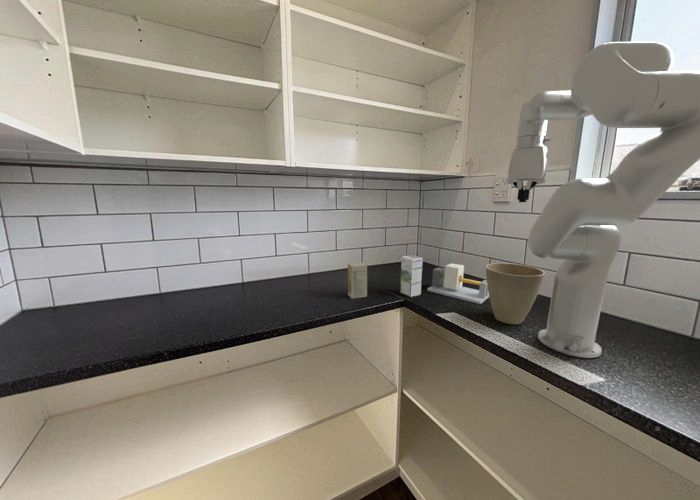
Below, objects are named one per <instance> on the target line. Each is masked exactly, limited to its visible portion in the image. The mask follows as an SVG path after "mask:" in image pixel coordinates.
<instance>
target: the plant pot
mask: <svg viewBox="0 0 700 500" xmlns="http://www.w3.org/2000/svg"><path fill="white" fill-rule="evenodd" d="M485 272H486V275H485V276H486V277H485V278H486V281H487V287H488V293H489V297H488V299H489V303H490V306H491V308H492V309H491V310H492V313H493V317H494V318H495V319H496V320H497V321H499V322H501V323H504V324H507V325H508V324H509V325H520V324H522V323H523V322H524V321H525V319H526V317H527V315H528V314H529V313H530V311H531V309H532V307H533V305H534V303H535V301H536V298H537V297H538V294H539V292H540V289H541V286H542V284H543V280H544V278H545V274H546V272H545V271H544V270H543V269H540V268H537V267H535V266H530V265H525V264H519V263H518V264H517V263H509V262H508V263H507V262H496V263H495V262H493V263H488V264H486V266H485Z"/></svg>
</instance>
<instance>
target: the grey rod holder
mask: <svg viewBox="0 0 700 500" xmlns="http://www.w3.org/2000/svg"><path fill="white" fill-rule="evenodd" d="M444 275H445V267H444V268H443V267H435V268H434V269H432V277H431V278H432V279H431V280H432V281H431V286H429V287H427V289H426V290H427V292H431V293H435V294H439V295H443V296H446V297H451V298H454V299H459V300H463V301H466V302H470V303H474V304H478V305H482V304H483V303H484V302H485V301H486V300H488V299H489V293H488V287H487V279H483V280H482V281H479V280H478V281H477V280H473V279H468V278H464V277H463V278H459V280H458V281H461V282H463V283H465V284H470V285H476V286H479V288H478V289H475V288H471V287H467V286H462V287H460V288H459V289H457V290H454V289H450V288H445V287H444Z"/></svg>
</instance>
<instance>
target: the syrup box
mask: <svg viewBox="0 0 700 500" xmlns="http://www.w3.org/2000/svg"><path fill="white" fill-rule="evenodd" d="M423 261H424V260H423V257H420V256H416V255H413V254H412V255H411V254H410V255H404V256H401V262H400V263H401V267H400V291H399V293H400V294H403V295H405V296H406V297H408V298H409V297H410V298H413V296H414V297H417V296H420V295H421V294H422V276H423V275H422V273H423Z"/></svg>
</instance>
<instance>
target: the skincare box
mask: <svg viewBox="0 0 700 500" xmlns="http://www.w3.org/2000/svg"><path fill="white" fill-rule="evenodd" d="M347 295H348V297H349V298H350V299H353V300H354V299H360V298H366V297H368V265H367V264H366V263H364V262H355V263H352V262H351V263H348V264H347Z"/></svg>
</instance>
